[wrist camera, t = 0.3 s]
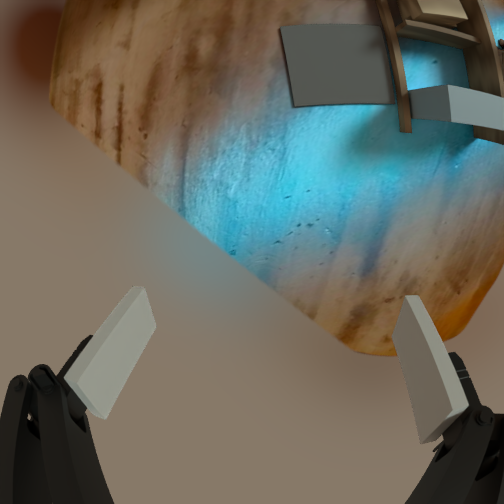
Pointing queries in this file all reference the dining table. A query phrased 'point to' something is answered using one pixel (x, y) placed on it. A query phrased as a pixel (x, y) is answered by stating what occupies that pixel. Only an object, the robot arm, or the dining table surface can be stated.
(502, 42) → the figurine
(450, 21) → the offcut upper
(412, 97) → the grey rectangular block
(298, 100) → the mat
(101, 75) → the dining table surface
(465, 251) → the dining table surface
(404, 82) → the rack
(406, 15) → the offcut lower
